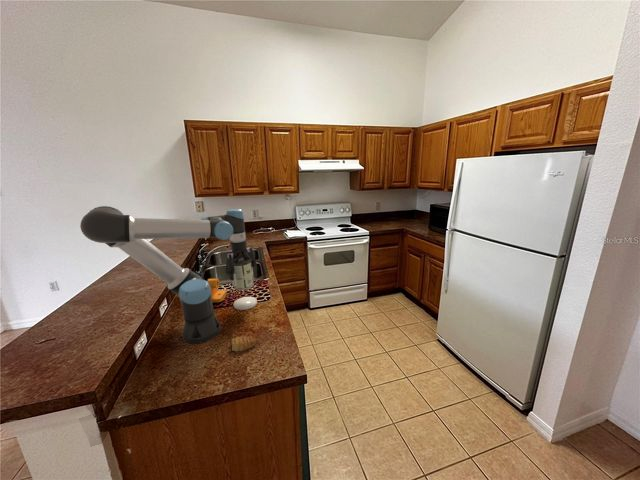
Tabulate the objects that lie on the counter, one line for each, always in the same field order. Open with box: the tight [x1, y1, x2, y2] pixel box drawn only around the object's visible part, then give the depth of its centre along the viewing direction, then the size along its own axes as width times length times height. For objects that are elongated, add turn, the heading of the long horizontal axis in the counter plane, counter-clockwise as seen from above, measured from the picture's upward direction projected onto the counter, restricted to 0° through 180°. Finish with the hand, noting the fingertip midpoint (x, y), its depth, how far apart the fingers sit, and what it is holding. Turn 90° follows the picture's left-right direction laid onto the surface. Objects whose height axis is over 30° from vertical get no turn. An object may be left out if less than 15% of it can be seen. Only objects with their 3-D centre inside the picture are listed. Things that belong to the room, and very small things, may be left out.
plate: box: [233, 296, 258, 311], centre depth 137 cm, size 12×12×1 cm
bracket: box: [206, 278, 228, 303], centre depth 143 cm, size 11×7×12 cm, turn 2°
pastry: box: [231, 335, 257, 353], centre depth 105 cm, size 9×7×4 cm
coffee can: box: [231, 256, 255, 291], centre depth 133 cm, size 10×10×14 cm
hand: (243, 281), depth 134 cm, fingers closed on coffee can, 10 cm apart
